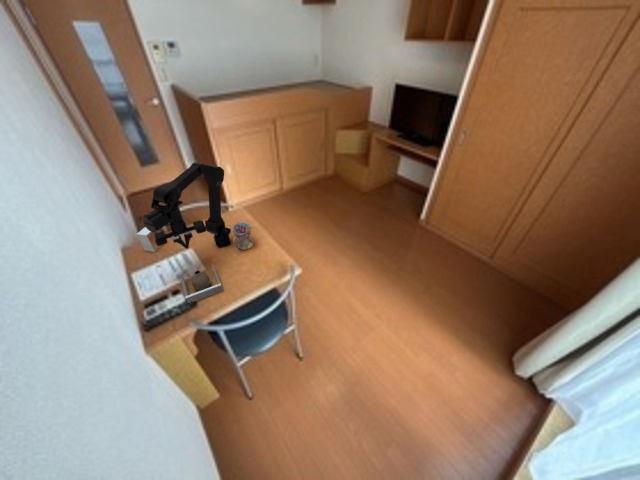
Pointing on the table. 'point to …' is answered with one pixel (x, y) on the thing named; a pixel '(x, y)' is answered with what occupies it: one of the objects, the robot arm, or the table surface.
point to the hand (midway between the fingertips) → (187, 248)
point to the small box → (148, 240)
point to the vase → (200, 280)
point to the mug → (243, 235)
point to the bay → (204, 292)
